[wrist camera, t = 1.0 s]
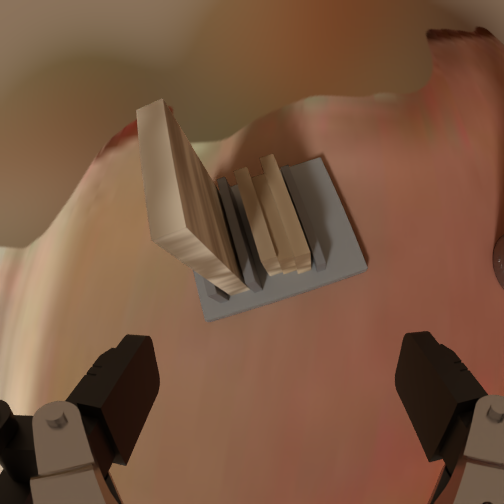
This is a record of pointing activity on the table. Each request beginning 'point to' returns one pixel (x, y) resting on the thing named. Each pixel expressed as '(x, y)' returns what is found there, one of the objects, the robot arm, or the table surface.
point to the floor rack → (316, 234)
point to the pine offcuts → (273, 219)
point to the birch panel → (185, 201)
